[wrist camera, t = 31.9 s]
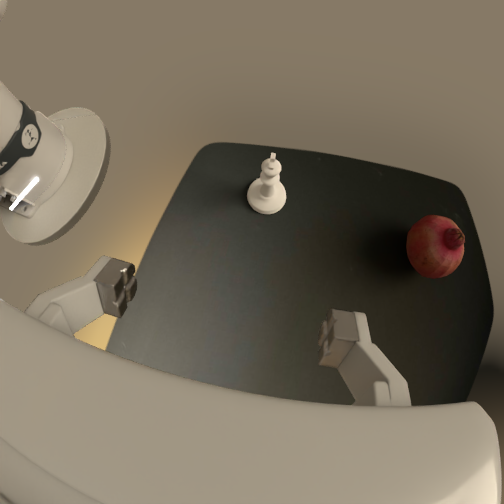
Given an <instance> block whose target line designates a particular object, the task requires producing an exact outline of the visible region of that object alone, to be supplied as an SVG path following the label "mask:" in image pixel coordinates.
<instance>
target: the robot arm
mask: <svg viewBox="0 0 504 504" xmlns="http://www.w3.org/2000/svg"><path fill="white" fill-rule="evenodd" d="M6 7H7V0H0V21H1V20H2V19H3V16H4V14H5V11H6ZM72 160H73V145H72V142H71V140H70V139H69V138H68V137H67V136H66V134H65V128H64V126H63V125H62V124H60V123H59V124H56V125H55V124H54V123H53V122H52V121H50V120H49V119H48V118H47V117H46V116H44V115H43V114H42V113H40V112H39V111H37V112H33V111H32V110H31V108H30V107H29V106H28V105H27V104H25V103H24V102H23V101H19V100H17V98H16V97H15V96H14V95H13V94H12V93H11V92H10V91H9V90H8V89H7V88H6V86H5V85H4V84H3V83H2V82H1V81H0V206H2V207H4V208H7V209H9V210H11V211H13V212H15V213H17V214H20V215H22V216H24V217H26V218H32V217H33V216H34V214H35V213H36V211H37V210H38V209H39V207H40V206H41V205H42V204H43V203H44V202H45V201H47V200H48V199H49V198H50V197H52V196H53V195H54V194H55V192H56V191H57V190H58V189H59V187H60V186H61V185H62V183H63V182H64V180H65V178H66V176H67V174H68V172H69V170H70V167H71V164H72ZM134 273H135V266H134V265H133V264H132V263H128V262H125V261H122V260H118V259H115V258H111V257H108V256H102V257H100V258H99V260H98V261H97V262H96V263H95V264H94V265H93V266H92V267H91V269H90V270H89V271H88V272H87V273H86V274H85V276H84V277H78V278H76V279H73V280H71V281H69V282H66V283H64V284H61V285H59V286H57V287H54V288H52V289H50V290H48V291H45V292H43V293H41V294H38V296H37V297H36V298H35V299H34V300H33V301H32V303H31V304H30V305H29V306H28V307H27V309H26V310H25V311H24V312H23V311H21V310H19V309H17V308H16V307H14V306H12V305H11V304H9V303H7V302H6V301H4V300H2V299H1V298H0V504H501V463H500V451H499V443H498V437H497V432H496V428H495V425H494V423H493V421H492V420H491V418H490V417H489V416H488V414H487V413H486V412H485V411H484V410H483V408H482V407H480V405H478V404H477V403H476V402H462V403H453V404H442V405H428V406H411V401H410V396H409V390H408V385H407V381H406V380H405V379H404V378H403V377H402V376H401V374H400V373H399V372H398V371H397V370H396V368H395V367H394V366H393V365H392V364H391V362H390V361H389V360H388V359H387V358H386V357H385V355H384V354H383V353H382V352H381V351H380V350H379V348H378V347H377V346H376V345H375V344H372V343H371V338H370V333H369V328H368V323H367V319H366V315H365V314H364V313H360V312H352V311H347V310H341V309H335V308H330V309H329V310H328V312H327V314H326V318H327V319H326V320H325V321H323V322H322V324H321V326H320V329H319V333H318V344H319V345H320V347H321V348H320V349H319V351H318V365H322V366H328V367H334V368H337V369H338V371H339V373H340V374H341V376H342V378H343V379H344V381H345V383H346V385H347V386H348V388H349V390H350V391H351V393H352V395H353V397H354V398H355V400H356V402H355V403H354V404H353V405H339V404H326V403H316V402H307V401H299V400H291V399H284V398H277V397H271V396H265V395H259V394H254V393H248V392H243V391H238V390H234V389H229V388H224V387H220V386H216V385H211V384H207V383H203V382H199V381H196V380H192V379H188V378H185V377H181V376H177V375H174V374H171V373H167V372H164V371H161V370H158V369H155V368H151V367H148V366H145V365H142V364H139V363H137V362H134V361H131V360H128V359H125V358H123V357H120V356H117V355H115V354H112V353H110V352H107V351H104V350H102V349H99V348H97V347H95V346H92V345H90V344H87V343H85V342H83V341H80V340H78V339H76V338H75V337H74V335H73V334H74V333H75V332H77V331H79V330H80V329H81V328H83V327H85V326H86V325H88V324H89V323H91V322H92V321H94V320H96V319H97V318H99V317H100V316H102V315H103V314H104V313H105V314H108V315H112V316H115V317H118V318H121V317H122V315H123V314H124V312H125V311H126V309H127V302H130V301H132V299H133V298H134V296H135V293H136V290H137V280H136V278H135V277H134V276H133V274H134Z"/></svg>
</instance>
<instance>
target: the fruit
mask: <svg viewBox="0 0 504 504" xmlns="http://www.w3.org/2000/svg"><path fill="white" fill-rule="evenodd" d="M464 239H465V236H464V234H463V233H462V231H461V230H460V229H459V228H458V226H457V225H456V224H455V223H454V222H453V221H452V220H451V219H449V218H446V217H443V216H436V215H428V216H425V217H423V218H422V219H420V220H419V221H418V222H416V223H415V224H414V225H413V226H412V227H411V229H410V231H409V232H408V235H407V245H406V248H407V256H408V258H409V260H410V263H411V265H412V266H413V267H414V269H415V270H416V271H417V272H418V273H419V274H421V275H422V276H424V277H428V278H432V279H434V278H440V277H443V276H446V275H448V274H451V273H452V272H453V271H454V270H455V269H456V268H457V267H458V265H459V264H460V262H461V260H462V257H463V254H464V242H465V240H464Z"/></svg>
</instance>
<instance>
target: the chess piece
mask: <svg viewBox="0 0 504 504" xmlns="http://www.w3.org/2000/svg"><path fill="white" fill-rule="evenodd" d="M275 156H276V153H271V158H270V159H266V160H265V161H264V162H263V163H262V166H261V167H262V172H261V174H260V178H259V179H257V180H255V181H254V182H253V183H252V184H251V185H250V187H249V189H248V193H247V199H248V202H249V204H250V206H251V207H252V208H253V209H254V210H255V211H257V212H259V213H262V214H272V213H275V212H277V211H279V210H280V209H281V208H282V207H283V206H284V204H285V201H286V191H285V188H284V186H283V185H282V184H281V183H280V182H279V179H280V176H279V173H280V171H281V164H280V163H279V161H277V160H276V159H275Z"/></svg>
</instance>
